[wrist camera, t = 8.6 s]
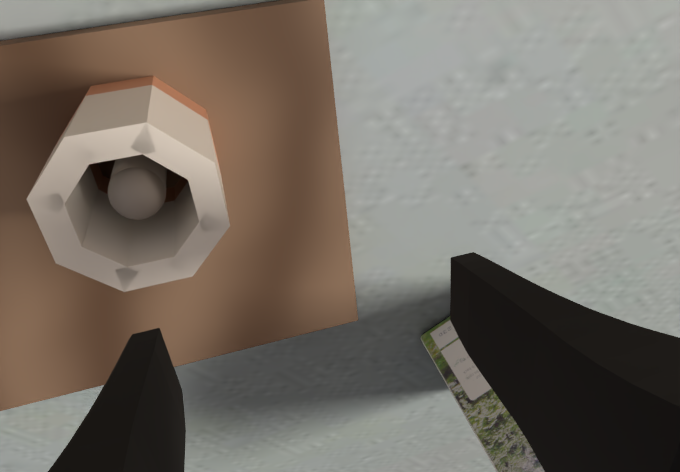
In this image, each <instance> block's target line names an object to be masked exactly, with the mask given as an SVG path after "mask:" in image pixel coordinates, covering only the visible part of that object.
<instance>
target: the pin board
mask: <svg viewBox="0 0 680 472" xmlns="http://www.w3.org/2000/svg"><path fill="white" fill-rule="evenodd" d="M149 76H155V77H156V78H158V79H159V80H161V81H163V82H164V83H166V84H167V85H169V86H170V87H172V88H173V89H175V90H177V91H178V92H180V93H181V94H183V95H184V96H186V97H187V98H189V99H190V100H192V101H194V102H195V103H197V104H198V105H200V106H201V107H203V108H204V109H206V111H207V115H208V120H209V124H210V128H211V132H212V137H213V141H214V145H215V149H216V154H217V158H218V162H219V167H220V173H221V178H222V184H223V189H224V195H225V200H226V206H227V211H228V217H229V223H230V227H229V228H228V229H227V231H226V232H225V233H224V235H223V236H222V237H221V239H220V240H219V242H218V243H217V244H216V246H215V247H214V248H213V250H212V251H211V252H210V254H209V255H208V256H207V258H206V259H205V261H204V262H203V263H202V265H201V266H200V267H199V269H198V270H197V271H196V273H195V274H194V275H193V276H192V277H188V278H184V279H179V280H175V281H170V282H166V283H162V284H157V285H153V286H148V287H144V288H140V289H135V290H131V291H126V292H123V291H121V290H118V289H116V288H114V287H111V286H109V285H106V284H104V283H102V282H99V281H97V280H94V279H92V278H90V277H87V276H85V275H83V274H80V273H78V272H75V271H73V270H71V269H68V268H66V267H63V266H61V265H59V264H56V263H55V261H54V258H53V256H52V254H51V252H50V250H49V247H48V245H47V243H46V241H45V239H44V236H43V234H42V232H41V230H40V228H39V225H38V223H37V221H36V219H35V217H34V214H33V212H32V210H31V208H30V206H29V203H28V201H27V197H28V195H29V193H30V192H31V190H32V188H33V186H34V184H35V182H36V181H37V179H38V177H39V175H40V173H41V171H42V169H43V168H44V166H45V164H46V162H47V160H48V158H49V157H50V155H51V153H52V151H53V149H54V147H55V146H56V144H57V142H58V140H59V138H60V136H61V135H62V133H63V131H64V130H65V128H66V126H67V125H68V123H69V121H70V120H71V118H72V116H73V115H74V113H75V112H76V110H77V108H78V107H79V105H80V103H81V102H82V100H83V98H84V97H85V95H86V93H87V92H88V90H89V88H90V86H94V85H100V84H106V83H112V82H118V81H124V80H130V79H136V78H143V77H149ZM98 164H99V167H100V170H101V172H102V175H103V176H105V177H107V178H109V179H110V182H109V186H108V197H109V201H110V203H111V205H112V207H113V208H114V209H115V210H116V211H117V212H118V213H119V214H120V215H122V216H124V217H126V218H129V219H133V220H142V219H147V218H149V217H152V216H153V215H155V214H156V213H157V212H158V211H159V210H160V209H161V208H162V206H163V204H164V202H165V198H166V188H169V187H174V186H175V185H176V184H177V182H178V181H179V180H180V178H181V177H182V176H180V175H178V174H177V173H175V172H173V171H171V170H170V169H168V168H166V167H164V166H162V165H161V164H159V163H157V162H155V161H153V160H152V159H150V158H148V157H146V156H145V155H143V154H142V155H136V156H131V157H126V158H120V159H115V160H110V161H104V162H99V163H98ZM357 320H358V314H357V304H356V295H355V286H354V276H353V267H352V258H351V248H350V239H349V230H348V220H347V211H346V201H345V192H344V183H343V173H342V164H341V155H340V145H339V136H338V127H337V117H336V108H335V98H334V89H333V80H332V70H331V61H330V52H329V42H328V33H327V24H326V14H325V5H324V0H279V1H272V2H265V3H258V4H251V5H244V6H237V7H230V8H224V9H217V10H210V11H203V12H196V13H189V14H182V15H175V16H169V17H162V18H155V19H148V20H141V21H134V22H127V23H120V24H114V25H107V26H100V27H93V28H86V29H79V30H72V31H65V32H59V33H52V34H45V35H38V36H31V37H24V38H17V39H10V40H4V41H0V411H2V410H6V409H10V408H14V407H18V406H22V405H26V404H30V403H34V402H38V401H42V400H46V399H50V398H54V397H57V396H61V395H65V394H69V393H73V392H77V391H81V390H85V389H89V388H93V387H97V386H101V385H105V383H106V382H107V380H108V378H109V376H110V374H111V372H112V371H113V369H114V367H115V365H116V363H117V361H118V359H119V357H120V355H121V353H122V351H123V350H124V348H125V346H126V344H127V342H128V340H129V338H130V337H131V335H132V334H135V333H140V332H144V331H148V330H152V329H156V328H160V330H161V333H162V336H163V339H164V342H165V344H166V347H167V350H168V353H169V355H170V358H171V361H172V364H173V367H176V366H180V365H184V364H188V363H192V362H196V361H200V360H204V359H207V358H211V357H215V356H219V355H223V354H227V353H231V352H235V351H239V350H243V349H247V348H251V347H255V346H259V345H263V344H267V343H271V342H275V341H278V340H282V339H286V338H290V337H294V336H298V335H302V334H306V333H310V332H314V331H318V330H322V329H326V328H330V327H334V326H338V325H342V324H346V323H350V322H353V321H357Z"/></svg>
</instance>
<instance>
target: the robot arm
mask: <svg viewBox="0 0 680 472" xmlns="http://www.w3.org/2000/svg"><path fill="white" fill-rule="evenodd" d="M450 321H451V323H452V325H453V327H454V329H455V331H456V333H457V335H458V337H459V339H460V341H461V342H462V344H463V346H464V348H465V350H466V352H467V354H468V355H469V356H470V358H471V359H472V361H473V362H474V364H475V365H476V367H477V368H478V370H479V371H480V372H481V374H482V375H483V377H484V378H485V380H486V381H487V382H488V384H489V385H490V387H491V388H492V389H493V391H494V392H495V394H496V395H497V397H498V398H499V399H500V401H501V402H502V404H503V405H504V406H505V408H506V409H507V411H508V412H509V413H510V415H511V416H512V418H513V419H514V421H515V422H516V423H517V425H518V427H519V428H520V430H521V431H522V433H523V434H524V436H525V437H526V439H527V441H528V443H529V444H530V446H531V448H532V450H533V452H534V453H535V455H536V457H537V459H538V460H539V462H540V464H541V466H542V468H543V469H544V471H545V472H680V338H678V337H674V336H671V335H667V334H664V333H660V332H657V331H653V330H650V329H646V328H643V327H640V326H636V325H633V324H630V323H627V322H624V321H622V320H619V319H616V318H613V317H610V316H608V315H605V314H602V313H599V312H597V311H594V310H592V309H589V308H587V307H584V306H582V305H580V304H577V303H575V302H573V301H571V300H568V299H566V298H564V297H561V296H559V295H557V294H555V293H553V292H551V291H549V290H547V289H544V288H542V287H540V286H538V285H536V284H534V283H532V282H530V281H528V280H526V279H525V278H523V277H521V276H519V275H517V274H515V273H513V272H511V271H509V270H507V269H505V268H503V267H502V266H500V265H498V264H496V263H494V262H492V261H490V260H488V259H486V258H484V257H482V256H480V255H478V254H476V253H474V252H472V253H468V254H464V255H460V256H456V257H452V258H451V303H450ZM185 432H186V430H185V417H184V405H183V395H182V389H181V386H180V383H179V380H178V378H177V375H176V372H175V369H174V367H173V364H172V361H171V358H170V355H169V353H168V350H167V347H166V344H165V342H164V339H163V336H162V333H161V330H160V328H156V329H152V330H148V331H144V332H140V333H135V334H132V335H131V337H130V338H129V340H128V342H127V344H126V346H125V348H124V350H123V351H122V353H121V355H120V357H119V359H118V361H117V363H116V365H115V367H114V369H113V371H112V372H111V374H110V376H109V378H108V380H107V382H106V383H105V385H104V387H103V389H102V390H101V392H100V394H99V396H98V397H97V399H96V401H95V403H94V404H93V406H92V408H91V409H90V411H89V413H88V414H87V416H86V417H85V419H84V420H83V422H82V423H81V425H80V426H79V428H78V430H77V431H76V433H75V434H74V436H73V437H72V439H71V440H70V442H69V443H68V445H67V446H66V448H65V449H64V450H63V452H62V453H61V455H60V456H59V458H58V459H57V460H56V462H55V463H54V464H53V466H52V467H51V468H50V470H49V471H48V472H184V460H185Z"/></svg>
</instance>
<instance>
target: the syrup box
mask: <svg viewBox="0 0 680 472" xmlns="http://www.w3.org/2000/svg"><path fill="white" fill-rule="evenodd" d="M421 341H422V343H423V344H424V346H425V348H426V350H427V351H428V353H429V355H430V356H431V358H432V360H433V362H434V363H435V365H436V367H437V369H438V370H439V372H440V374H441V376H442V377H443V379H444V381H445V383H446V384H447V386H448V388H449V390H450V392H451V393H452V395H453V397H454V398H455V400H456V402H457V403H458V405H459V407H460V408H461V410H462V412H463V414H464V415H465V417H466V419H467V421H468V422H469V424H470V426H471V428H472V429H473V431H474V433H475V434H476V436H477V438H478V440H479V441H480V443H481V445H482V447H483V448H484V450H485V452H486V454H487V455H488V457H489V459H490V461H491V463H492V464H493V466H494V468H495V470H496V471H497V472H545V471H544V469H543V468H542V466H541V464H540V462H539V460H538V459H537V457H536V455H535V453H534V452H533V450H532V448H531V446H530V444H529V443H528V441H527V439H526V437H525V436H524V434H523V433H522V431H521V430H520V428H519V427H518V425H517V423H516V422H515V421H514V419H513V418H512V416H511V415H510V413H509V412H508V411H507V409H506V408H505V406H504V405H503V404H502V402H501V401H500V399H499V398H498V397H497V395H496V394H495V392H494V391H493V389H492V388H491V387H490V385H489V384H488V382H487V381H486V380H485V378H484V377H483V375H482V374H481V372H480V371H479V370H478V368H477V367H476V365H475V364H474V362H473V361H472V359H471V358H470V356H469V355H468V354H467V352H466V350H465V348H464V346H463V344H462V342H461V341H460V339H459V337H458V335H457V333H456V331H455V329H454V327H453V325H452V323H451V321H450V317H448V318H447V319H445V320H444V321H442V322H440V323H439V324H438V325H436V326H435V327H433V328H431V329H430V330H429V331H427V332H426V333H425V334H423V335H422V336H421Z"/></svg>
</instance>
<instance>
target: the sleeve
mask: <svg viewBox="0 0 680 472" xmlns="http://www.w3.org/2000/svg"><path fill="white" fill-rule="evenodd" d="M142 154H143V155H145V156H146V157H148V158H150V159H152V160H153V161H155V162H157V163H159V164H161V165H162V166H164V167H166V168H168V169H170V170H171V171H173V172H175V173H177V174H178V175H180V176H182V177H181V178H180V180H179V181H178V182H177V184H176V185H175V186H174V187H169V188H166V198H165V202H164V204H163V206H162V208H161V209H160V210H159V211H158V212H157V213H156V214H155V215H153V216H152V217H149V218H147V219H142V220H133V219H129V218H126V217H124V216H122V215H120V214H119V213H118V212H117V211H116V210H115V209H114V208H113V207H112V205H111V203H110V201H109V197H108V186H109V182H110V179H109V178H107V177H105V176H103V175H102V172H101V170H100V167H99V164H98V163H99V162H104V161H110V160H115V159H120V158H126V157H131V156H136V155H142ZM27 201H28V203H29V206H30V208H31V210H32V212H33V214H34V217H35V219H36V221H37V223H38V225H39V228H40V230H41V232H42V234H43V236H44V239H45V241H46V243H47V245H48V247H49V250H50V252H51V254H52V256H53V258H54V261H55V263H56V264H59V265H61V266H63V267H66V268H68V269H71V270H73V271H75V272H78V273H80V274H83V275H85V276H87V277H90V278H92V279H94V280H97V281H99V282H102V283H104V284H106V285H109V286H111V287H114V288H116V289H118V290H121V291H123V292H126V291H131V290H135V289H140V288H144V287H148V286H153V285H157V284H162V283H166V282H170V281H175V280H179V279H184V278H188V277H192V276H193V275H194V274H195V273H196V271H197V270H198V269H199V267H200V266H201V265H202V263H203V262H204V261H205V259H206V258H207V256H208V255H209V254H210V252H211V251H212V250H213V248H214V247H215V246H216V244H217V243H218V242H219V240H220V239H221V237H222V236H223V235H224V233H225V232H226V231H227V229H228V228H229V227H230V223H229V217H228V211H227V206H226V200H225V195H224V189H223V184H222V178H221V173H220V167H219V162H218V158H217V154H216V149H215V145H214V141H213V137H212V132H211V128H210V124H209V120H208V115H207V111H206V109H204V108H203V107H201V106H200V105H198V104H197V103H195V102H194V101H192V100H190V99H189V98H187V97H186V96H184V95H183V94H181V93H180V92H178V91H177V90H175V89H173V88H172V87H170V86H169V85H167V84H166V83H164V82H163V81H161V80H159V79H158V78H156V77H155V76H149V77H143V78H136V79H130V80H124V81H118V82H112V83H106V84H100V85H94V86H90V88H89V90H88V92H87V93H86V95H85V97H84V98H83V100H82V102H81V103H80V105H79V107H78V108H77V110H76V112H75V113H74V115H73V116H72V118H71V120H70V121H69V123H68V125H67V126H66V128H65V130H64V131H63V133H62V135H61V136H60V138H59V140H58V142H57V144H56V146H55V147H54V149H53V151H52V153H51V155H50V157H49V158H48V160H47V162H46V164H45V166H44V168H43V169H42V171H41V173H40V175H39V177H38V179H37V181H36V182H35V184H34V186H33V188H32V190H31V192H30V193H29V195H28V197H27Z"/></svg>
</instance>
